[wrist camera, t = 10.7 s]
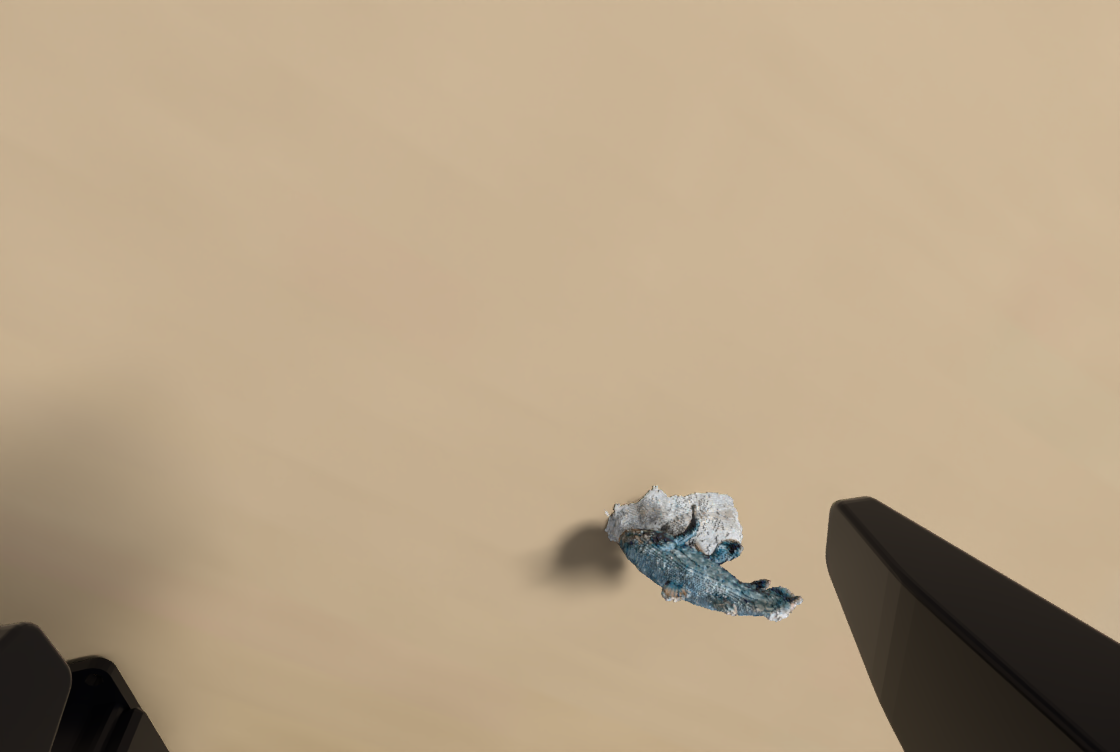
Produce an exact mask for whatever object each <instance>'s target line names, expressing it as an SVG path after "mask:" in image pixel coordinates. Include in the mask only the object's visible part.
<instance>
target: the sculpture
mask: <svg viewBox="0 0 1120 752" xmlns="http://www.w3.org/2000/svg"><path fill="white" fill-rule="evenodd" d="M653 487H655V486H653ZM657 487H658V486H656V488H653V489H652V490H649V492H648V493H646V495H645V496H644V498H642V499H640V501H639V502H637V504H636V503H630V504H629V505H627V504H625V505H622V506H620V504H618V505H617V504H615V508H614V510H615V513H613V515H612V517H611V516H610V517H609V520H608V524H607V528H606V529H605V531H606V532H608V534H609V536H608V538H609V539H610V541H612V540H614V541H617V542H618V544H619V545H620V548H621V549H622V551H623V552H624V554H625V555H626V557H627V559H628V560H630V561H631V562H632V563H633V564H634V565H635V566H636V568H637V569H638V570H639V571H641V572H642V573H643V574H644V575H646V576H647V577H648V578H650V579H651V580H652V581H654V583H656V584H658V585H660V586H661V587H662V593H661V595H662V597H664V598H665V600H666V601H671V600H673V602H677V601H681V600H685V601H689V602H691V603H692V604H696V606H701V607H704V608H708V609H711V610H717V611H722V612H724V613H726V614H731V616H736V614H738V615H741V616H743V615H753V616H759V615H760V616H764V617H766V618H767V619H769V620H770V621H775V622H777V621H781V619H783V618H786V617H788V616H789V613H791V612H792V610H793V609H795V607H796V605H800V603H802V601H803V599H802V597H801V596H795V595H794V594H793V593H791V592H790V590H789V589H787V588H783V587H781V586H779V587H772V588H769V589H767V590H765V589H766V588H768V586H769V585H770V583H771V581H770V580H767V579H763V580H762V579H760V580H759V581H753V582H752V583H742V582H740V581H739V580H738V579H736V577H735V576H733V575H731V573H729V572H728V571H727V570H725V569H724V568H723V567H721V566H720V564H723V563H724V562H726V561H732V559H734V558H736V557H738V556H740V554H741V552H742V550H743V546H742V545H741V541H742V538H743V536H742V535H743V534H742V530H743V529H742V526H741V525H740V523H739V520H738V512H737V511H736V508H734V505H733V499H732V497H730V496H728V495H727V494H718V493H713V492H707V493H695V494H691V495H688V496H685V497H682V495H679V496H677V495H674V496H671V497H667V495H666V493H664V492H663V491H662V490H660V489H659V491H658V488H657ZM605 514H606V515H607V516H608V515H609V514H608V512H607V511H606V512H605Z"/></svg>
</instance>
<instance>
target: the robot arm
mask: <svg viewBox="0 0 1120 752" xmlns="http://www.w3.org/2000/svg"><path fill="white" fill-rule="evenodd" d="M826 564H827V568H828V572H829V575H830V578H831V580H832V583H833V586H834V588H835V591H836V593H837V596H838V598H839V601H840V603H841V606H842V609H843V611H844V614H845V616H846V619H847V621H848V624H849V627H850V629H851V632H852V634H853V637H854V639H855V642H856V644H857V647H858V650H859V652H860V655H861V657H862V660H863V662H864V665H865V668H866V670H867V673H868V675H869V678H870V680H871V683H872V685H873V688H874V690H875V692H876V695H877V697H878V700H879V702H880V704H881V706H882V708H883V710H884V712H885V714H886V716H887V719H888V721H889V723H890V725H891V727H892V729H893V731H894V732H895V734H896V736H897V738H898V740H899V742H900V744H901V746H902V748H903V750H904V752H1120V643H1118V642H1117V641H1115V640H1113V639H1111V638H1110V637H1108V636H1106V635H1105V634H1103V633H1101V632H1100V631H1098V630H1096V629H1095V628H1093V627H1091V626H1089V625H1088V624H1086V623H1084V622H1083V621H1081V620H1079V619H1078V618H1076V617H1074V616H1073V615H1071V614H1069V613H1067V612H1066V611H1064V610H1062V609H1061V608H1059V607H1057V606H1056V605H1054V604H1052V603H1051V602H1049V601H1047V600H1046V599H1044V598H1042V597H1040V596H1039V595H1037V594H1035V593H1034V592H1032V591H1030V590H1029V589H1027V588H1025V587H1024V586H1022V585H1020V584H1018V583H1017V582H1015V581H1013V580H1012V579H1010V578H1008V577H1007V576H1005V575H1003V574H1002V573H1000V572H998V571H997V570H995V569H993V568H991V567H990V566H988V565H986V564H985V563H983V562H981V561H980V560H978V559H976V558H975V557H973V556H971V555H969V554H968V553H966V552H964V551H963V550H961V549H959V548H958V547H956V546H954V545H953V544H951V543H949V542H947V541H946V540H944V539H942V538H941V537H939V536H937V535H936V534H934V533H932V532H931V531H929V530H927V529H926V528H924V527H922V526H920V525H919V524H917V523H915V522H914V521H912V520H910V519H909V518H907V517H905V516H904V515H902V514H900V513H898V512H897V511H895V510H893V509H892V508H890V507H888V506H887V505H885V504H883V503H882V502H880V501H878V500H876V499H874V498H872V497H867V496H863V497H856V498H849V499H843V500H838V501H836V502H834V503H833V504H832V506H831V508H830V513H829V523H828V533H827V544H826ZM94 674H97V675H100V676H97V675H94ZM0 752H169V751H168V749H167V748H166V746H165V744H164V743H163V741H162V739H161V738H160V736H159V734H158V733H157V731H156V729H155V728H154V726H153V724H152V723H151V721H150V719H149V718H148V716H147V714H146V713H145V712H144V711H143V710H142V709H141V707H140V705H139V704H138V702H137V700H136V699H135V697H134V695H133V694H132V692H131V690H130V689H129V687H128V685H127V684H126V682H125V680H124V679H123V677H122V675H121V674H120V672H119V671H118V669H117V667H116V666H115V665H114V664H113V663H112V662H111V661H109V660H107V659H103V658H93V659H88V660H84V661H80V662H76V663H72V664H67V663H66V661H65V660H64V659H63V658H62V656H61V655H60V654H59V652H58V651H57V650H56V648H55V647H54V646H53V644H52V643H51V642H50V640H49V639H48V638H47V636H46V635H45V634H44V632H43V631H42V630H41V629H40V628H39V627H38V626H37V625H35V624H33V623H31V622H20V623H14V624H7V625H0Z"/></svg>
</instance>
